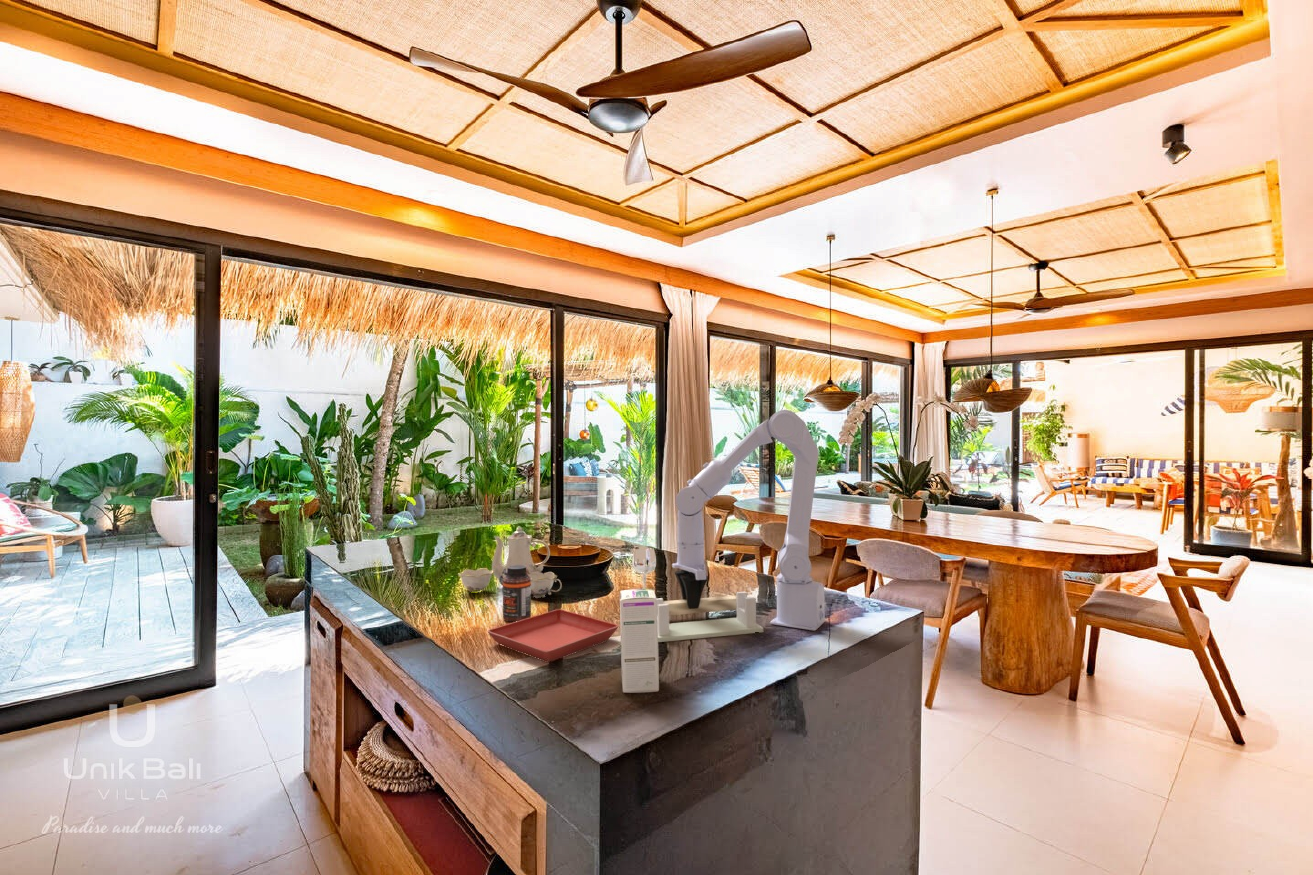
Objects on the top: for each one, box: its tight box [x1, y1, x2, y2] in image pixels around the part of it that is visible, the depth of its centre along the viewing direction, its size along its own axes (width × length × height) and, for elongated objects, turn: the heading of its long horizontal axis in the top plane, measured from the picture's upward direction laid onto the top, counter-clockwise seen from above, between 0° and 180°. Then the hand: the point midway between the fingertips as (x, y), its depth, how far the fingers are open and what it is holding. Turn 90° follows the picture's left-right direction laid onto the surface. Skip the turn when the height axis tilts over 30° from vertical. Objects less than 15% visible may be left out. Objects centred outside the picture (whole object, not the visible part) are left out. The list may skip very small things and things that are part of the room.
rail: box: [663, 595, 737, 616], centre depth 131 cm, size 22×2×2 cm, turn 104°
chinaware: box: [457, 525, 563, 599], centre depth 156 cm, size 28×17×17 cm, turn 80°
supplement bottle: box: [502, 565, 532, 622], centre depth 132 cm, size 6×6×11 cm
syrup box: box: [619, 588, 660, 694], centre depth 96 cm, size 6×6×14 cm
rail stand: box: [656, 591, 764, 643], centre depth 123 cm, size 22×8×6 cm, turn 104°
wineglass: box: [631, 545, 657, 589], centre depth 149 cm, size 6×6×12 cm
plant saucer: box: [487, 608, 619, 663], centre depth 117 cm, size 18×18×3 cm
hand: (691, 606), depth 131 cm, fingers closed on rail, 2 cm apart
